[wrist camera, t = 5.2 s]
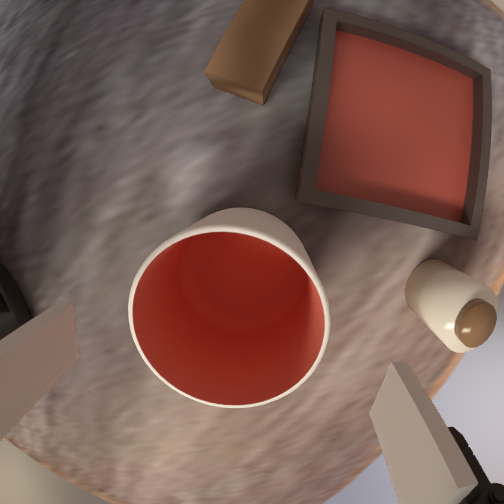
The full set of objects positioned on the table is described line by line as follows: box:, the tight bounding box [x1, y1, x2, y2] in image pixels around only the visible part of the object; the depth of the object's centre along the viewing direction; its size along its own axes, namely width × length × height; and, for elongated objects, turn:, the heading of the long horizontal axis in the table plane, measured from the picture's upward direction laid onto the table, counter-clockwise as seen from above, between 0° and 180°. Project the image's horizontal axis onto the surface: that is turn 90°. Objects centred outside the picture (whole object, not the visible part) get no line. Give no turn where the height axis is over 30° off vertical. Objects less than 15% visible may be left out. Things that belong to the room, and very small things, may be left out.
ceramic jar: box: [405, 259, 498, 353], centre depth 20 cm, size 5×5×8 cm
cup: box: [128, 208, 331, 408], centre depth 19 cm, size 10×10×10 cm
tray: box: [295, 8, 492, 241], centre depth 20 cm, size 15×15×2 cm
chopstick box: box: [205, 0, 313, 106], centre depth 18 cm, size 4×10×4 cm, turn 157°
